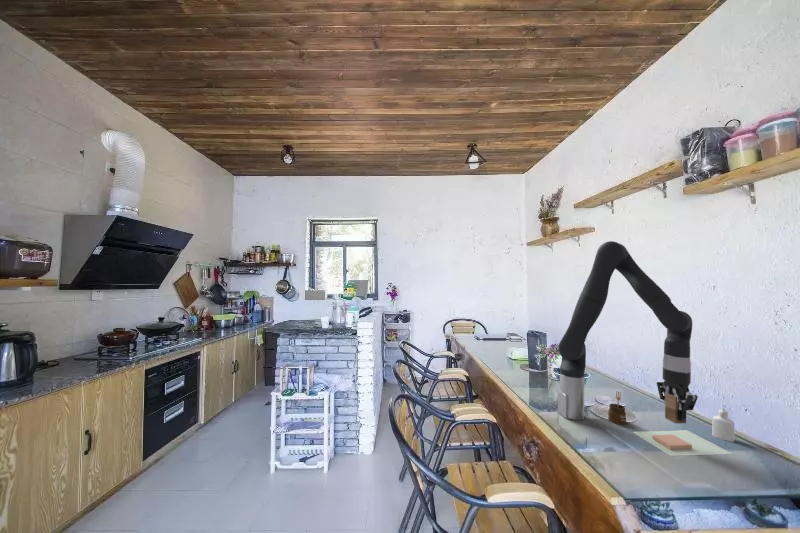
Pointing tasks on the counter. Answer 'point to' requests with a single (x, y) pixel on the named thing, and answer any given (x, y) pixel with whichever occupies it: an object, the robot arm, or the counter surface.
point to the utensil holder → (617, 412)
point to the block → (672, 408)
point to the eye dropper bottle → (723, 426)
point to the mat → (698, 443)
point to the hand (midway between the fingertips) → (675, 416)
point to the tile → (672, 442)
